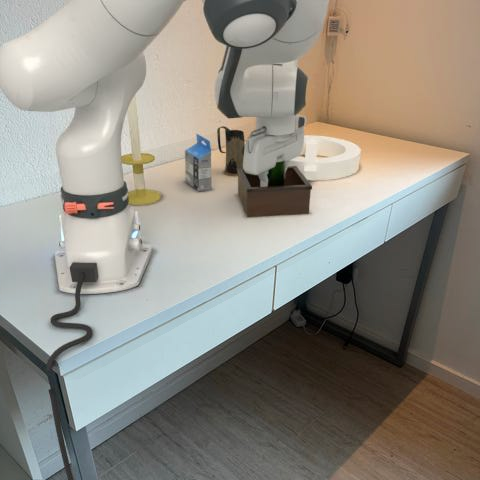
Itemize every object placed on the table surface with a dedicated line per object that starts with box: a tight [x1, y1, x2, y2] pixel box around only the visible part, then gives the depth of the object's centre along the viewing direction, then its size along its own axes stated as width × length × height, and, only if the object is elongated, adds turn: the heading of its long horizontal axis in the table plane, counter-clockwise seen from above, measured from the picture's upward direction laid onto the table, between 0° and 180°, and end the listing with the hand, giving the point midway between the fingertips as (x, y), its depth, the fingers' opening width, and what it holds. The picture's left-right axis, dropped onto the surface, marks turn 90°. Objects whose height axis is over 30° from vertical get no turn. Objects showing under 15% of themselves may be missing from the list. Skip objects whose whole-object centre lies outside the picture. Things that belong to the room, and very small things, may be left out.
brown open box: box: [237, 166, 313, 218], centre depth 125 cm, size 15×15×7 cm
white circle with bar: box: [288, 134, 362, 181], centre depth 152 cm, size 28×28×5 cm
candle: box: [122, 95, 162, 206], centre depth 123 cm, size 10×10×27 cm
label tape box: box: [184, 133, 212, 192], centre depth 135 cm, size 9×4×12 cm, turn 28°
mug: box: [216, 126, 246, 177], centre depth 144 cm, size 8×6×12 cm
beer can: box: [267, 154, 285, 186], centre depth 124 cm, size 5×5×12 cm
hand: (272, 183), depth 124 cm, fingers closed on beer can, 5 cm apart
